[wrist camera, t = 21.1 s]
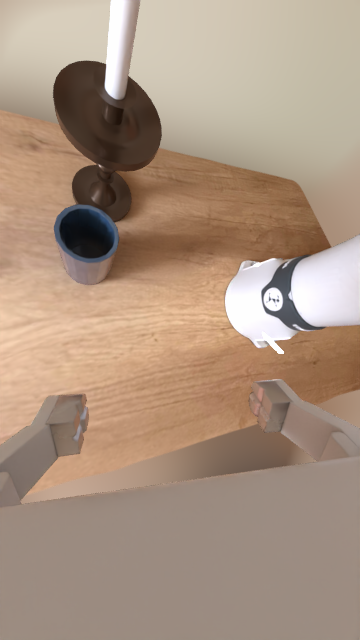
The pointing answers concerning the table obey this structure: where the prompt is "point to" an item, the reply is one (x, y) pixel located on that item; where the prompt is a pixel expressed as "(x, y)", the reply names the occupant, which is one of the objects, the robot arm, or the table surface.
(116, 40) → the candlestick
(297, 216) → the table surface
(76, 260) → the cup
